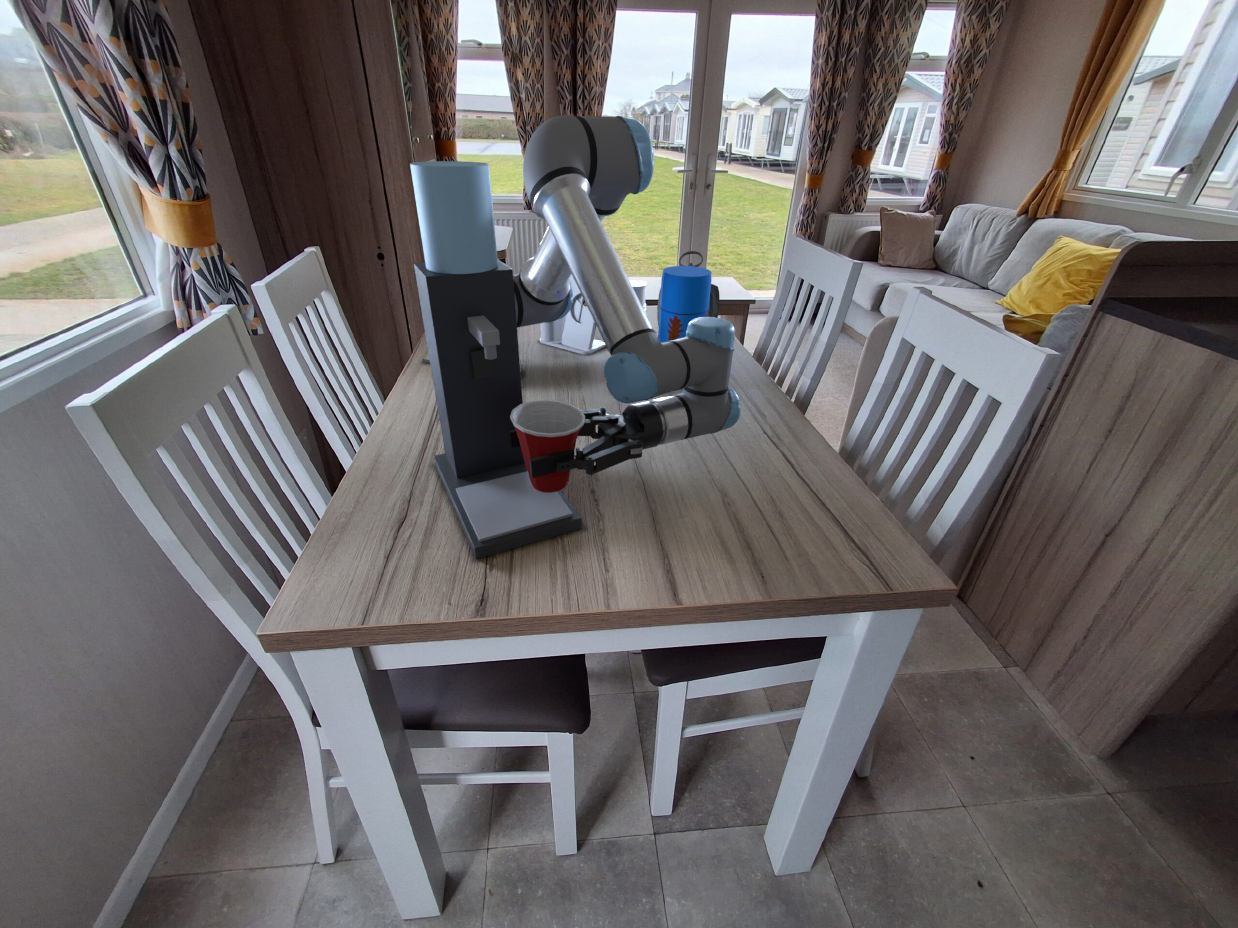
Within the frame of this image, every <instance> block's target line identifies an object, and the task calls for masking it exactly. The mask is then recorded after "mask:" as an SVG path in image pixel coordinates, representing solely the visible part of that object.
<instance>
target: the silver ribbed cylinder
mask: <svg viewBox="0 0 1238 928" xmlns="http://www.w3.org/2000/svg"><path fill="white" fill-rule="evenodd" d="M629 281H630V283H631V285H632V287H633V289H634V291H635V293H636V295H637V297H638V299H639V301H640V303H641V305H642V307H643V309H644V311H645V313H646V314H647V312H646V311H647V303H646V298H647V297H646V296H647V287H648V283H647V282H646V281H642V280H636V279H635V280H634V279H633V280H629Z"/></svg>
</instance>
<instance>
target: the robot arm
mask: <svg viewBox="0 0 1238 928" xmlns="http://www.w3.org/2000/svg"><path fill="white" fill-rule="evenodd" d="M654 154H655V151H654V146H653V143H652V138H651V136H650V134H649V132H648V130H647V128H646V127H645V126H644V124H643V123H642V122H640V120H639V119H636V118H632V117H625V116H623V115H615V116H602V115H601V116H600V115H599V116H597V115H572V114H561V115H556V116H553V117H550V118H548V119H547V120H545V121H544V122H542V124H540V125H539V126H538V127H537V128H536V129H535V131H533V133H532V134H531V137H530V138H529V140H528V142H527V144H526V147H525V150H524V155H523V163H522V179H523V184H524V189H525V192H526V196H527V199H528V201H529V203H530V205H531V208H532V209H533V212H534V214H535V215H536V216H537V217H538V218H540V219H542V220H544V221H546V223H547V229H546V230H545V233H544V235H543V237H542V240H541V242H540V243H539V246H538V248H537V250H536V252H535V254H534V255H533V257H530V258H528V259H527V260H525V261H524V262H523V264H522V265H521V268H520V270H519V272H518V273H517V274H513V282H514V295H515V308H516V321H517V329H518V328H523V327H528V326H534V325H540V323H549V322H554V321H556V320H559V319H562V318H563V317H565V316H566V315H567V314H568V312H569V311H570V309H571V306H572V300H571V297H573V290H572V285H571V282H570V280H569V277H570V276H571V274H572V276H573V278H574V280H575V282H576V284H577V286H578V288H579V290H580V292H581V294H582V296H583V300H584V303H585V305H586V307H588V309H589V311H590V313H591V315H592V317H593V319H594V321H595V324H596V329H597V330H598V332H599V334H600V336H601V338H602V341H603V342H605V344H606V346H605V347H606V349H607V350H608V353H609V355H610V356H609V357H608V358H607V360H606V361H605V364H604V369H603V375H604V378H605V380H606V381H605V386H606V388H607V391H608V392H609V394H610V395H611V396H612V397H613V399H615V400H616V401H617V402H619V403H622V404H629V405H627V406H626V407H625V408H624V410H623V412H622V413H621V414H620V413H619V414H609V413H607V408H606V407H605V406H600V407H596V408H592V409H585V410H581V411H582V413H583V414H584V415H585V422H584V425H583V426H582V427H581V429H580V431H579V433H578V437H590V438H591V439H592V440H595V441H593V442H592V443H590V444H588V445H586V446H585V447H584V448H579V447H575V450H574V451H573V450H567V451H563V452H559V453H554V454H550V455H546V456H541V457H537V458H533V459H529V461H530V475H531V477H532V478H535V477H539V476H543V475H547V474H551V473H555V472H563V471H567V470H570V471H571V470H574V469H575V470H576V469H577V470H579V471H582V470H583V471H585V474H586V475H587V476H591V475H595V474H597V473H600V472H602V471H604V470H607V469H609V468H612V467H614V466H617V465H619V464H621V463H624V462H626V461H629V460H634V459H640V458H643V451H644V450H648V449H651V448H656V447H658V446H663V445H668V444H671V443H675V442H679V441H683V440H688V439H691V438H697V437H701V436H704V435H711V434H712V435H713V434H716V433H718V432H721V431H724V430H727V429H730V428H732V427H733V426H735V425H736V424H737V422H738V421H739V419H740V416H741V410H742V409H741V406H740V405H739V404H740V399H739V396H738V394H737V392H736V391H735V389H733V388H732V387H731V386H729V385H730V384H729V383H730V377H731V370H732V363H733V356H734V352H735V338H736V335H735V334H736V329H735V326H734V325H733V324H732V323H731V322H730V321H728V320H727V319H724V318H720V317H718V318H715V317H699V318H695V319H693V320H692V321H690V322H689V324H688V327H687V331H686V337H684V338H680V339H676V340H672V341H667V342H664V343H660V341H659V339H658V334H657V333H656V331H655V330H654V327H653V325H652V323H651V322H650V319H649V317H648V315H647V312H646V311H644V309H643V307H642V305H641V303H640V301H639V299H638V297H637V295H636V293H635V291H634V289H633V287H632V285H631V283H630V281H631V280H630V279H629V276H628V275H627V273H626V271H625V268H624V266H623V264H622V262H621V260H620V258H619V256H618V254H617V252H616V250H615V248H614V246H613V244H612V242H611V240H610V238H609V236H608V234H607V232H606V229H605V228H604V226H603V224H602V222H603V220H604V218H605V217H610V216H612V215H614V214H616V213H617V212H618V210H620V207H621V206H622V205H623V203H624V201H625V199H626V198H627V196H628V195H630V194H632V195H638V194H639V193H642V192H644V191H646V189H647V188H648V187H649V185H650V184H651V182H652V178H653V176H654V169H655V158H654V157H655V155H654ZM645 312H646V313H645ZM521 362H522V361H521V360H520V373H521V374H522V369H521V366H522V364H521ZM421 363H424V364H428V365H430V359H426V358H422V359H421ZM678 390H682V392H681V393H679V394H675V395H669V396H665V397H659V396H662V395H666V394H669V393H671V392H675V391H678ZM657 397H659V398H657ZM655 398H656V399H655ZM648 400H649V401H648ZM509 440H510V447H511V448H515V447H520V442H519V438H518V436H517V432H516V429H515V430H510V431H509Z"/></svg>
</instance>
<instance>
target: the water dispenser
mask: <svg viewBox="0 0 1238 928" xmlns="http://www.w3.org/2000/svg"><path fill="white" fill-rule="evenodd" d="M409 166H410V172H411V179H412V185H413V191H414V200H415V205H416V211H417V218H418V224H419V230H420V237H421V245H422V251H423V257H424V262H416V263H415V262H414V263H413V267H414V273H415V279H416V285H417V292H418V298H419V304H420V309H421V310H420V311H421V315H422V322H423V329H424V335H425V339H426V345H427V352H428V358H429V359H428V360H430V364H429V365H430V370H431V371H430V372H431V376H432V380H433V381H432V382H433V390H434V395H435V401H436V406H437V412H438V419H439V424H440V431H441V436H442V443H443V449H444V453H441V454H435V455H433V461H434V466H435V468H436V470H437V473H438V475H439V478H440V480H441V482H442V484H443V487H444V489H445V491H446V493H447V496H448V498H449V500H450V503H451V505H452V507H453V510H454V512H455V514H456V516H457V519H458V521H459V524H460V526H461V528H462V531H463V532H464V535H465V537H466V540H467V542H468V544H469V547H470V549H471V551H472V554H473V556H474V558H475V559H476V560H479V559H482V558H486V557H489V556H492V555H496V554H499V553H502V552H506V551H509V550H513V549H517V548H520V547H523V546H526V545H530V544H533V543H538V542H541V541H543V540H547V539H551V538H554V537H557V536H561V535H565V534H567V533H572V532H575V531H579V530H581V529H582V528H583V527H582V524H583V522H582V521H583V519H582V517H581V515H580V514H579V512H578V511H577V510H576V508H575V507H574V505H573V504H572V503H571V502H570V500H569V499H568V498H567V496H566V495H565V494H564V493H563V491H562V490H560V491H557V492H552V493H545V492H541V491H538V490H536V489H535V488H534V487H533V485H532V483H531V481H530V478H529V474H528V470H527V468H526V465H525V461H524V457H523V454H522V450H521V446H520V447H515V448H511V447H510V440H509V431H510V430H515V426H514V425H513V423H512V421H511V418H510V415H511V412H512V410H513V409H514V408H516V407H517V406H519V405H520V404H523V403H524V401H523V400H524V399H523V390H522V389H523V388H522V376H521V375H522V372H521V373H520V361H521V359H520V347H519V336H518V328H517V321H516V308H515V295H514V282H513V275H514V269H512V268H511V266H508V265H507V264H506V263H504V262H502V261H501V260H499V258H498V251H497V238H496V227H495V218H494V217H495V216H494V206H493V194H492V193H493V192H492V184H491V172H490V164H489V163H488V162H480V161H462V160H461V161H457V160H456V161H455V160H453V161H452V160H447V161H446V160H437V161H435V160H434V161H433V160H432V161H431V160H430V161H429V160H428V161H416V162H410V163H409Z"/></svg>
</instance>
